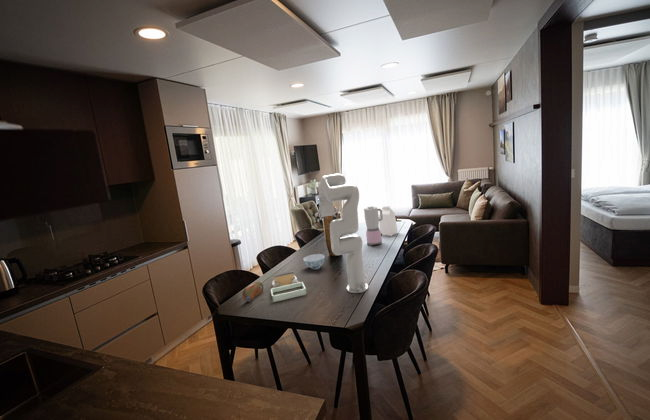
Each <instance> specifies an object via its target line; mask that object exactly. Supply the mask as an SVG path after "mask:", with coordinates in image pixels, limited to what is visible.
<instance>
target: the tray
mask: <svg viewBox="0 0 650 420" xmlns="http://www.w3.org/2000/svg"><path fill="white" fill-rule="evenodd" d="M299 287H301V288H302V289H301V288H300V289H297V288H299ZM291 289H297V290H293V291H289V292H283V293H279V292H282V291H287V290H291ZM274 293H279V294H275V295H274ZM270 294H271V299H272V302H273V303H276V302H280V301H285V300H288V299H293V298H296V297H301V296H302V297H303V296H306V295H308V294H307V288H306V286H305V284H304V281H298V283H294V284H290V285H285V286H281V287H276V288H273V287H272V288H270Z"/></svg>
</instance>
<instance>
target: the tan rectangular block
mask: <svg viewBox="0 0 650 420" xmlns="http://www.w3.org/2000/svg"><path fill="white" fill-rule="evenodd" d="M294 276H295V273H294V270H293V269H292V270H289V271H283V272H278V273H274V274H273V277H274V280H275V283H278V282H279V286H280V285H285V284H289V283H292V280H291V279H294Z"/></svg>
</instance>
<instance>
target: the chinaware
mask: <svg viewBox="0 0 650 420" xmlns="http://www.w3.org/2000/svg"><path fill="white" fill-rule="evenodd" d="M303 262H304V264H305V265H306V267H308V268H310V269H312V270H313V271H314V270H319V269H320V268H321V267H322V265H324V262H325V255H324V254H321V253H317V254H316V253H315V254H314V253H313V254H310V255H307V256H305V257H303Z"/></svg>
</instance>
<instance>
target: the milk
mask: <svg viewBox="0 0 650 420" xmlns="http://www.w3.org/2000/svg"><path fill="white" fill-rule="evenodd" d="M381 210H382V217H383V219H382V220H381V221H379V230H380V232H381V233H382V236H385V235H387V236H389V237H392V235H393V236H394V235H396V234H398V227H397V218H396V213H395V212H394V211H393V210H392V209H391V207H390V205H383V206H382V209H381ZM378 215H379V219H380V218H381V217H380V214H378Z"/></svg>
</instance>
